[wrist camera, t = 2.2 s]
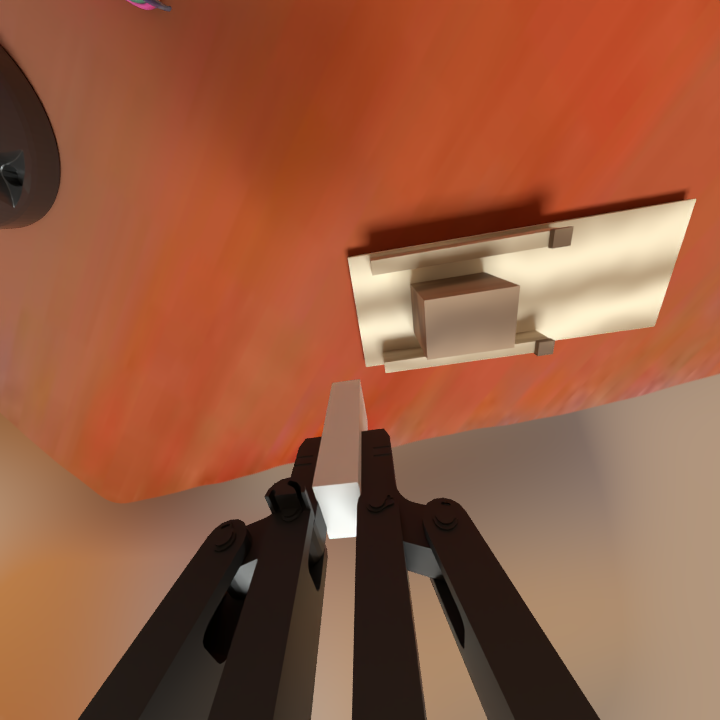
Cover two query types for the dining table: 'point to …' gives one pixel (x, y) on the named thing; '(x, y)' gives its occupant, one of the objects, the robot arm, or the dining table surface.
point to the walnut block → (464, 314)
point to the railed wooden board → (529, 280)
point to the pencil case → (150, 4)
